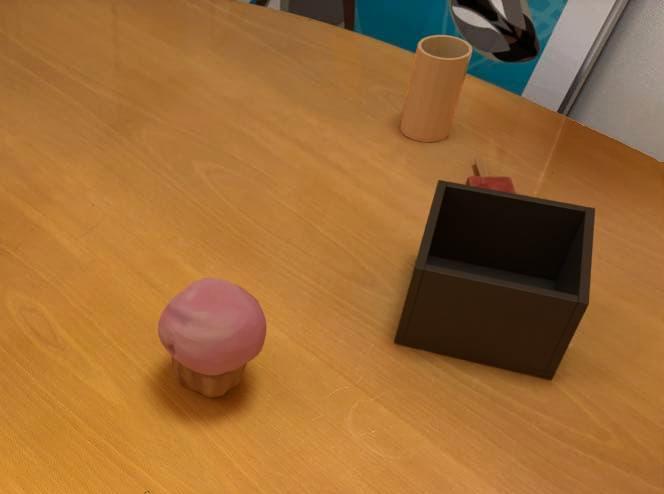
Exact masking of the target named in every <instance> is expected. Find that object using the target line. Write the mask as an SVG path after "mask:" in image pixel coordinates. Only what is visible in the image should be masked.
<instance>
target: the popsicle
mask: <svg viewBox="0 0 664 494" xmlns="http://www.w3.org/2000/svg"><path fill="white" fill-rule="evenodd" d="M473 159H474V163H475V166H476V169H477V171H478V176H477V175H476V176H475V175H474V176H473V175H471V176H467V179H466V181H465V185H470V186H476V187H481V188H487V189H492V190H498V191H503V192H509V193H514V194H517V192H516V188H515V186H514V183H513V180H512V177H511V176H498V175H497V176H492V175H491V176H490V173H489V169H488V167H487V164H486V162H485V159H484V157H483V156H481V155H475V156H474V158H473Z"/></svg>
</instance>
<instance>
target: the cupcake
mask: <svg viewBox="0 0 664 494" xmlns="http://www.w3.org/2000/svg"><path fill="white" fill-rule="evenodd" d="M157 334H158V338H159V341H160V344H162V346H163V348H164V349H165V350H166V351H167V353H168V354H169V355H170V356H171V361H172V362H171V363H172V364H171V365H172V371H173V374H174V378H175V380H176V381H177V382H178V383H179V384H180V385H181V386H183V387H185V388H187V389H188V390H192V391H195V392H197V393H199V394H201V395H203V396H204V397H205V398H211V399H213V398H218V397H222V396H224V395H225V394H226V393H227V391H229V390H230V389H232V388H234V387H236V386H237V385H238V384H239V383H240V381H241V379H242V377H243V374H244V372H245V369H246V367H247V365H248V363H249V362H251V361H252V360H254V359H255V358H256V357H258V356H259V355H260V353H261V352H262V350H263V347H264V345H265V341H266V337H267V319H266V317H265V313H264V311H263V308H262V307H261V304H260V302H259V300H257V298H256V297H255V296H254V295H253V294H251V293H250V292H249V291H247V290H246V289H245V288H243V287H242V286H240V285H238V284H236V283H233V282H231V281H229V280H226V279H223V278H218V277H204V278H200V279H198V280H195V281H194V282H193V283H191V284H190V285H188V286H187V287H186V288H185V289H183V290H182V291H181V292H179V293H177V294H176V295H174V296H173V297H172V298H171V299H170V300H169V302H168V303H167V304H166V306H165V307H164V308H163V310H162V312H161V314H160V317H159V319H158V323H157Z"/></svg>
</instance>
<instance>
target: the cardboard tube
mask: <svg viewBox="0 0 664 494" xmlns="http://www.w3.org/2000/svg"><path fill="white" fill-rule="evenodd" d="M414 55H415V56H414V60H413V65H412V69H411V73H410V78H409V82H408V86H407V90H406V91H407V92H406V96H405V99H404V100H405V101H404V104H403V109H402V113H401V117H400V123H399V124H400V125H399V130H400V132H401V133H402V135H404V136H405V137H406V138H409V139H411V140H414V141H417V142H422V143H436V142H440V141H443V140H445V139H447V137H448V136H449V135H450V132H451V130H452V127H453V124H454V120H455V115H456V113H457V110H458V109H457V108H458V105H459V102H460V97H461V94H462V91H463V86H464V82H465V79H466V75H467V73H468V68H469V65H470V62H471V57H472V55H473V46H472V45H471V44H470V43H469V42H468V41H466V40H464V39H462V38H461V37H457V36H453V35H447V34H446V35H445V34H435V35H429V36H426V37H424V38H421V39H420V41H418V43H417V47H416V51H415V54H414Z"/></svg>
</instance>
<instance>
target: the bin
mask: <svg viewBox="0 0 664 494" xmlns="http://www.w3.org/2000/svg"><path fill="white" fill-rule="evenodd" d="M595 218H596V207H591V206H585V205H581V204H579V205H578V204H574V203H569V202H564V201H558V200H552V199H547V198H541V197H536V196H531V195H525V194H519V193H516V194H514V193H509V192H503V191H498V190H492V189H487V188H481V187H476V186H470V185H466V183H465V184H464V183H459V182H453V181H447V180H443V179H438V180H437V183H436V187H435V190H434V195H433V198H432V202H431V204H430V210H429V212H428V217H427V219H426V222H425V223H426V224H425V227H424V231H423V234H422V238H421V240H420V245H419V249H418V251H417V255H416V260H415V263H414V267H413V269H412V270H413V271H412V274H411V278H410V281H409V285H408V288H407V292H406V296H405V298H404V299H405V300H404V303H403V307H402V309H401V310H402V311H401V314H400V318H399V321H398V325H397V328H396V333H395V335H394V340H393V344H395V345H399V346H404V347H407V348H412V349H416V350H420V351H425V352H429V353H433V354H438V355H441V356H447V357H450V358H455V359H459V360H464V361H468V362H473V363H477V364H481V365H486V366H490V367H493V368H498V369H502V370H507V371H511V372H515V373H520V374H524V375H528V376H531V377H537V378H541V379H544V380H549V381H552V380H554V377H555V374H556V373H557V370H558V369H559V367H560V365H561V362H562V360H563V359H564V357H565V354H566V352H567V350H568V348H569V346H570V345H571V342H572V341H573V339H574V336H575V333H576V332H577V330H578V327H579V325H580V324H581V322H582V319H583V317H584V315H585V313H586V311H587V309H588V307H589V305H590V295H591V294H590V293H591V292H590V291H591V279H592V265H593V264H592V263H593V249H594V233H595V220H596V219H595Z"/></svg>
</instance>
